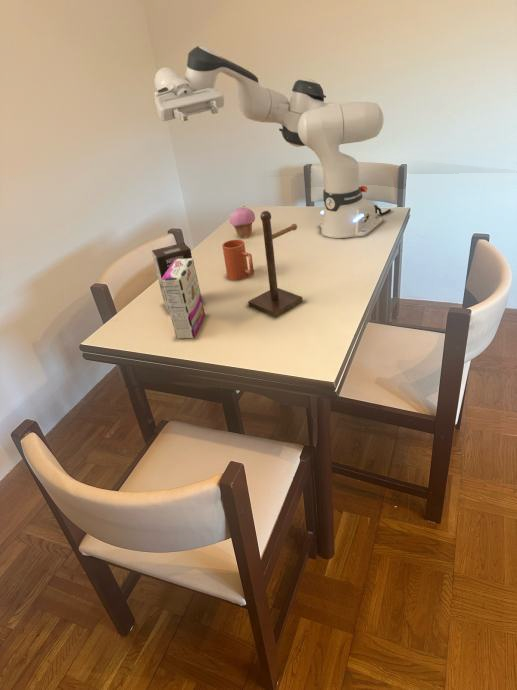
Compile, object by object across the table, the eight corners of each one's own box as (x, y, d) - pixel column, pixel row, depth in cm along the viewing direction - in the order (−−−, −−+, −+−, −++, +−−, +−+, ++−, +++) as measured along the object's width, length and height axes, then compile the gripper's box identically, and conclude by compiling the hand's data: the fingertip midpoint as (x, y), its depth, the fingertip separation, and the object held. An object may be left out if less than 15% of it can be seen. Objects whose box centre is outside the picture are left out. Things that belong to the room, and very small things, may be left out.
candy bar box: (187, 316, 126) (174, 258, 118) (206, 316, 125) (194, 257, 117) (175, 339, 117) (159, 278, 108) (194, 339, 116) (180, 277, 107)
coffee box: (170, 314, 129) (156, 257, 120) (164, 304, 134) (150, 249, 125) (202, 304, 131) (190, 248, 122) (195, 295, 136) (183, 241, 127)
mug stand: (287, 285, 135) (279, 196, 121) (314, 294, 128) (309, 202, 115) (248, 306, 127) (235, 214, 114) (275, 317, 121) (264, 221, 107)
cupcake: (256, 230, 175) (253, 202, 169) (257, 238, 167) (254, 210, 162) (232, 233, 175) (228, 206, 170) (232, 242, 168) (227, 213, 162)
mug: (223, 276, 144) (217, 245, 139) (239, 269, 148) (234, 238, 142) (246, 285, 138) (241, 253, 132) (262, 277, 141) (258, 245, 136)
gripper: (214, 100, 152) (233, 117, 144) (152, 114, 146) (169, 133, 138) (212, 78, 147) (232, 95, 139) (149, 92, 141) (166, 111, 133)
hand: (200, 114), depth 139 cm, fingers open, 8 cm apart
